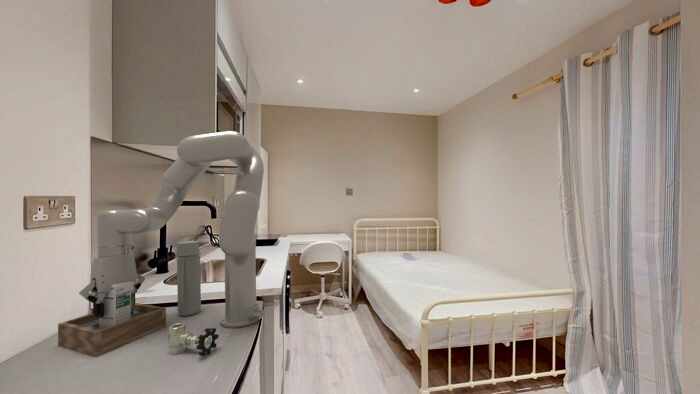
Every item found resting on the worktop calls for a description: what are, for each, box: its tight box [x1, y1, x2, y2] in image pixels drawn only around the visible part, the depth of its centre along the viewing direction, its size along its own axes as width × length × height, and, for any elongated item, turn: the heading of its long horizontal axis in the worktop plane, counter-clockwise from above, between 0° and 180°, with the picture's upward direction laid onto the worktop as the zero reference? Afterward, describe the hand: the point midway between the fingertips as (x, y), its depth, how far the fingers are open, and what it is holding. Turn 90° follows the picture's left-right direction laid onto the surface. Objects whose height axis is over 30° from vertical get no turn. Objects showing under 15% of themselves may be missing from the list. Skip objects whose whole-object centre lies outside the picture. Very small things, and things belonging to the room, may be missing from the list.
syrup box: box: [99, 281, 134, 329], centre depth 83 cm, size 6×6×14 cm
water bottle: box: [175, 240, 202, 317], centre depth 98 cm, size 9×8×25 cm
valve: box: [167, 322, 220, 357], centre depth 72 cm, size 7×7×12 cm
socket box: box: [57, 302, 167, 358], centre depth 82 cm, size 18×18×6 cm
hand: (115, 311), depth 83 cm, fingers open, 7 cm apart
